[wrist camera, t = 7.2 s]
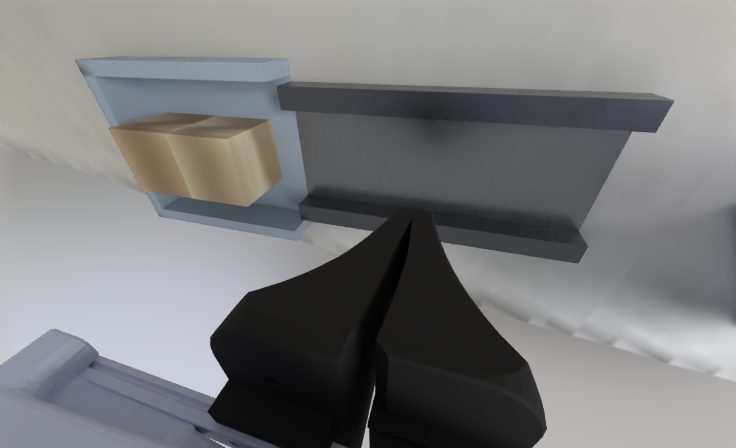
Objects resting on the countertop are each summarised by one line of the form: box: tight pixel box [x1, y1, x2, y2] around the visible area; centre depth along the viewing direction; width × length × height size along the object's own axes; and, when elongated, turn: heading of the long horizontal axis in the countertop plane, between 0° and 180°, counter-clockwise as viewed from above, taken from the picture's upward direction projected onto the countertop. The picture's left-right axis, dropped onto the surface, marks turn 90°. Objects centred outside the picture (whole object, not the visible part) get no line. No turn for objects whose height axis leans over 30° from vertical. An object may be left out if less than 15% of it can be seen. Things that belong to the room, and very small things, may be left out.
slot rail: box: [277, 82, 674, 263], centre depth 15 cm, size 17×8×2 cm, turn 91°
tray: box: [75, 57, 312, 241], centre depth 18 cm, size 12×11×3 cm
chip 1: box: [109, 112, 216, 198], centre depth 18 cm, size 4×4×4 cm
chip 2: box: [165, 116, 282, 207], centre depth 17 cm, size 4×4×4 cm
